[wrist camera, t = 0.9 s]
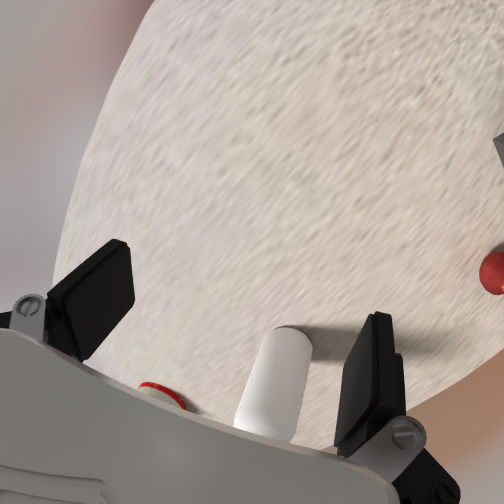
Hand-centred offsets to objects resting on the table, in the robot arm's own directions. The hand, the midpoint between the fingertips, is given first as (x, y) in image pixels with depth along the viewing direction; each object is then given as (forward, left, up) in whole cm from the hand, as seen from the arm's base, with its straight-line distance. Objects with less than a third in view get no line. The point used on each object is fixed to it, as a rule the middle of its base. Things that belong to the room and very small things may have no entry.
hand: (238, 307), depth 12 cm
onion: (+16, +26, -31) cm, 43 cm away
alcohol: (+33, -6, -31) cm, 46 cm away
